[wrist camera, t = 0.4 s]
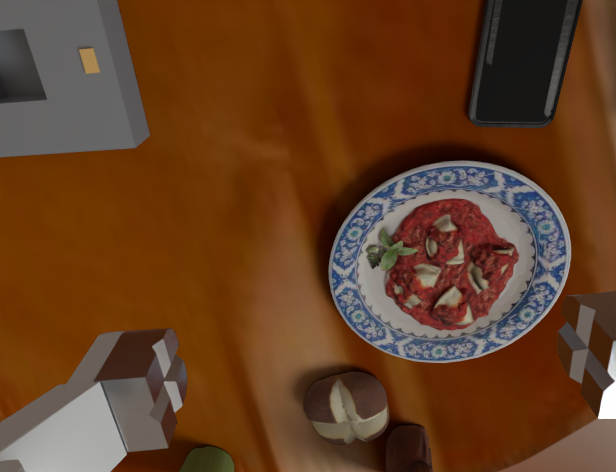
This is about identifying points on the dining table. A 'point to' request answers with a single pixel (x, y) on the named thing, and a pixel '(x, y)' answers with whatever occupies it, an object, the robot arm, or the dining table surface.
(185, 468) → the plant pot
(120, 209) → the dining table surface
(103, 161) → the dining table surface
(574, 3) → the phone
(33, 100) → the block
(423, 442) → the wooden figurine
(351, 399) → the bread
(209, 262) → the dining table surface
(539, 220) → the ceramic plate
